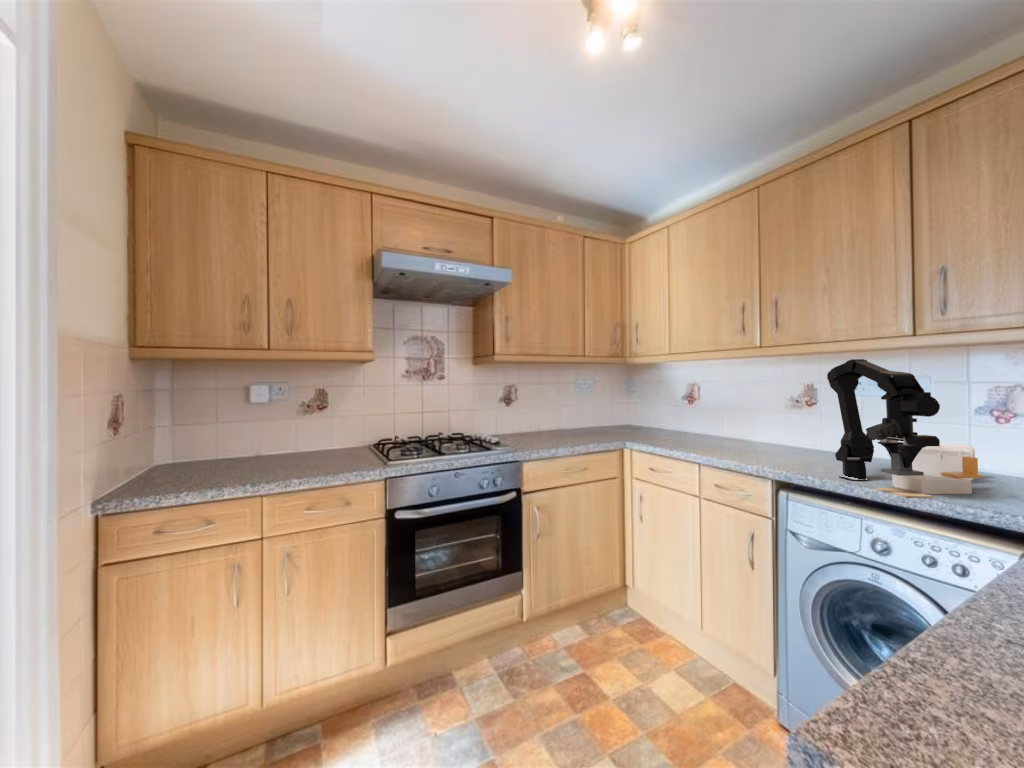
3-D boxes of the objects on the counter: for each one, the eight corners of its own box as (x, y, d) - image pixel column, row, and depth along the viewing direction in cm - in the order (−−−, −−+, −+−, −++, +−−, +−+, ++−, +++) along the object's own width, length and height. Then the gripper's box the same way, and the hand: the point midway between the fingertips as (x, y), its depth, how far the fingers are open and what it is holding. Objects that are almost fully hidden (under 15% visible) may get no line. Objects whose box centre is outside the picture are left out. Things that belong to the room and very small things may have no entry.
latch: (941, 474, 130) (940, 456, 130) (964, 474, 129) (963, 456, 129) (957, 478, 125) (956, 458, 125) (981, 477, 124) (980, 458, 124)
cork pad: (875, 489, 130) (875, 487, 130) (899, 489, 129) (899, 487, 129) (907, 497, 119) (906, 496, 119) (932, 497, 118) (932, 496, 118)
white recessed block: (892, 486, 133) (892, 474, 133) (938, 486, 132) (938, 473, 132) (921, 494, 123) (921, 480, 123) (971, 493, 122) (971, 480, 122)
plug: (881, 471, 127) (880, 447, 128) (905, 471, 127) (904, 447, 127) (898, 475, 121) (897, 450, 122) (923, 475, 121) (922, 449, 121)
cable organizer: (979, 480, 140) (978, 445, 140) (974, 484, 134) (972, 448, 134) (918, 473, 152) (917, 442, 153) (911, 477, 146) (909, 444, 147)
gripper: (848, 413, 134) (849, 462, 134) (898, 417, 116) (900, 473, 115) (884, 413, 134) (886, 461, 133) (940, 416, 115) (942, 472, 115)
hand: (901, 466), depth 124 cm, fingers closed on plug, 3 cm apart
